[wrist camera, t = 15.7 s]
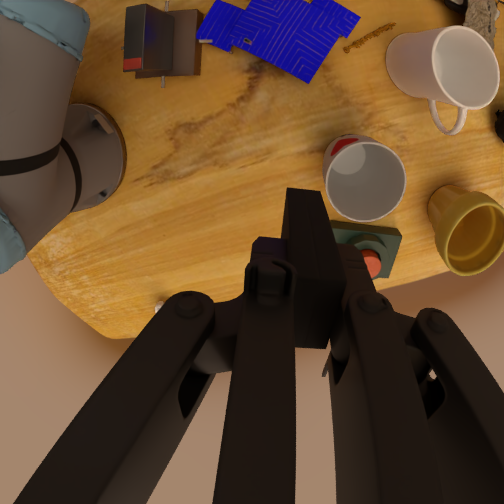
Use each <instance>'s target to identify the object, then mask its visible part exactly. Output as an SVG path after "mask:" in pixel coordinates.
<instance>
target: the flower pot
mask: <svg viewBox="0 0 504 504" xmlns="http://www.w3.org/2000/svg"><path fill="white" fill-rule="evenodd" d="M428 216H429V219H430V222H431V224H432V227H433V229H434V232H435V244H436V247H437V250H438V252H439V254H440V256H441V257H442V259H443V261H444V262H445V264H446V265H447V267H448V268H449V269H450V270H451V271H452V272H454V273H456V274H458V275H461V276H471V275H475V274H478V273H480V272H482V271H484V270H485V269H487V268H488V267H489V266H491V265H492V264H493V263H494V262H495V261H496V260H497V259H498V257H499V256H500V254H501V253H502V251H503V249H504V209H503V208H502V206H501V205H499V204H498V203H497V202H496V201H495V200H493V199H492V198H491V197H489V196H488V195H486V194H484V193H482V192H476V191H473V192H470V191H467V190H465V189H462V188H460V187H457V186H454V185H446V186H443V187H441V188H439V189H438V190H436V191H435V192H434V194H433V195H432V196H431V198H430V200H429V203H428Z"/></svg>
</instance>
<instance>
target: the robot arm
mask: <svg viewBox="0 0 504 504" xmlns="http://www.w3.org/2000/svg"><path fill="white" fill-rule="evenodd" d="M89 28H90V18H89V15H88V14H87V12H86V11H85V10H84V9H83V8H81V7H79V6H77V5H75V4H73V3H70V2H67V1H64V0H0V274H2V273H4V272H6V271H8V270H9V269H10V268H11V267H12V266H13V265H14V264H16V263H17V262H18V261H20V260H23V259H24V257H25V256H26V254H27V253H28V252H29V251H30V250H31V249H32V248H33V247H34V246H35V245H36V244H37V243H38V242H39V241H40V240H41V239H42V238H43V237H44V236H45V235H46V234H47V233H48V232H49V231H51V230H52V229H53V228H54V227H55V226H56V225H57V224H58V223H59V222H60V221H61V220H63V219H64V218H65V217H66V216H67V215H68V214H69V213H72V212H76V211H80V210H84V209H88V208H91V207H94V206H96V205H98V204H100V203H102V202H104V201H105V200H106V199H107V198H109V197H110V196H111V195H112V194H113V193H114V192H115V191H116V190H117V188H118V187H119V185H120V183H121V181H122V179H123V176H124V173H125V169H126V160H127V157H126V147H125V142H124V138H123V136H122V133H121V131H120V129H119V127H118V125H117V124H116V122H115V121H114V119H113V118H112V117H111V116H110V115H109V114H108V113H107V112H106V111H104V110H103V109H101V108H100V107H98V106H95V105H93V104H89V103H74V104H70V105H68V104H69V99H70V96H71V92H72V88H73V84H74V81H75V77H76V74H77V70H78V67H79V64H80V62H82V60H83V56H82V53H83V49H84V45H85V41H86V38H87V35H88V31H89ZM329 338H330V343H331V351H330V353H329V356H328V359H327V361H326V364H325V367H324V369H323V373H322V377H325V376H326V374H327V371H328V372H329V383H330V395H331V406H332V420H333V434H334V451H335V471H336V501H337V504H504V393H503V391H502V390H501V388H500V387H499V385H498V383H497V382H496V380H495V379H494V378H493V376H492V374H491V373H490V371H489V370H488V368H487V367H486V366H485V364H484V362H483V361H482V360H481V358H480V357H479V356H478V354H477V352H476V351H475V350H474V348H473V347H472V345H471V344H470V343H469V341H468V340H467V339H466V337H465V336H464V335H463V333H462V332H461V330H460V329H459V328H458V326H457V325H456V324H455V323H454V322H453V320H452V319H451V318H450V317H449V316H448V315H447V314H446V313H444V312H442V311H441V310H438V309H435V308H424V309H422V310H420V312H419V313H418V315H417V317H416V318H413V317H410V316H406V315H403V314H400V313H397V312H395V311H394V310H393V308H392V305H391V303H390V302H389V301H388V299H387V298H386V297H384V296H383V295H382V294H380V293H377V292H376V289H375V286H374V284H373V281H372V278H371V275H370V273H369V270H368V267H367V265H366V263H365V260H364V257H363V254H362V252H361V251H360V250H359V249H358V248H357V247H356V246H354V245H352V244H342V243H336V240H335V236H334V233H333V230H332V227H331V223H330V220H329V217H328V214H327V211H326V207H325V204H324V201H323V198H322V195H321V192H320V191H315V190H306V189H297V188H287V191H286V199H285V208H284V216H283V225H282V233H281V238H271V237H260V236H259V237H258V238H257V239H256V240H255V241H254V242H253V244H252V251H251V258H250V263H248V264H247V266H246V268H245V278H244V292H243V293H242V294H241V295H240V296H238V297H237V298H235V299H232V300H230V301H225V302H218V303H214V302H213V300H212V299H211V298H210V297H209V296H208V295H205V294H203V293H201V292H196V291H184V292H180V293H177V294H175V295H173V296H171V297H170V298H169V299H168V300H167V301H166V302H165V303H164V304H163V305H162V307H161V308H160V309H159V310H158V311H157V313H156V314H155V315H154V316H153V318H152V319H151V320H150V321H149V323H148V324H147V325H146V326H145V328H144V329H143V330H142V331H141V332H140V334H139V335H138V336H137V337H136V339H135V340H134V341H133V342H132V344H131V345H130V346H129V348H128V349H127V350H126V351H125V353H124V354H123V355H122V356H121V358H120V359H119V360H118V362H117V363H116V364H115V365H114V367H113V368H112V369H111V370H110V372H109V373H108V374H107V376H106V377H105V378H104V379H103V381H102V382H101V384H100V385H99V386H98V387H97V388H96V390H95V391H94V392H93V394H92V395H91V396H90V398H89V399H88V400H87V402H86V403H85V404H84V406H83V407H82V408H81V410H80V411H79V412H78V414H77V415H76V416H75V418H74V419H73V420H72V422H71V423H70V424H69V426H68V427H67V428H66V430H65V431H64V432H63V434H62V435H61V436H60V438H59V439H58V441H57V442H56V443H55V445H54V446H53V448H52V449H51V450H50V452H49V453H48V454H47V456H46V457H45V459H44V460H43V461H42V463H41V464H40V466H39V467H38V469H37V470H36V471H35V473H34V474H33V475H32V477H31V478H30V480H29V481H28V483H27V484H26V486H25V487H24V489H23V490H22V491H21V493H20V494H19V496H18V497H17V499H16V500H15V502H14V503H13V504H146V503H147V501H148V499H149V497H150V496H151V494H152V492H153V490H154V488H155V487H156V485H157V483H158V481H159V479H160V478H161V476H162V474H163V472H164V470H165V469H166V467H167V465H168V463H169V461H170V460H171V458H172V456H173V454H174V452H175V450H176V449H177V447H178V445H179V443H180V441H181V439H182V437H183V435H184V434H185V432H186V430H187V428H188V426H189V424H190V423H191V421H192V419H193V417H194V415H195V413H196V411H197V409H198V407H199V406H200V404H201V402H202V400H203V398H204V396H205V394H206V392H207V391H208V389H209V387H210V385H211V383H212V381H213V379H214V377H215V375H216V373H221V372H227V371H232V375H231V381H230V388H229V395H228V402H227V409H226V415H225V422H224V429H223V435H222V442H221V449H220V455H219V462H218V469H217V475H216V483H215V489H214V496H213V502H212V504H295V480H296V378H295V377H296V376H295V347H298V348H315V349H326V347H327V344H328V341H329ZM432 369H433V371H434V372H435V374H436V376H437V377H436V378H435V379H432V378H431V377H430V375H429V373H430V372H431V370H432Z"/></svg>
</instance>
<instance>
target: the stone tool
mask: <svg viewBox="0 0 504 504" xmlns="http://www.w3.org/2000/svg"><path fill="white" fill-rule="evenodd" d="M497 13H498V12H497V7H496V4H495V0H468V10H467V12H466V15H465V16H466V18H465V22H464V23H463V26H464V27H468V28H470V29H472V30H474V31H476V32H477V33H478V34H480V35H481V36H482V37H483V38H484V39H485V40H486V41H487V42H488V44H489V45H490V47H491V48H492V50H493V49H494V42H493V38H494V36H495V34H496V28H495V19H494V18H495V16H496V14H497ZM493 52H494V50H493Z"/></svg>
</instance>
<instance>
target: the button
mask: <svg viewBox="0 0 504 504" xmlns="http://www.w3.org/2000/svg"><path fill="white" fill-rule="evenodd" d="M361 252H362V254H363V257H364V260H365V263H366V265H367V267H368V270H369V273H370V275H371V278H373V277H375V276H376V275H377V274H378V273H379V272H380V270H381V262H380V260H379V258H378V255H377V254H376V253H375V252H374V251H373V250H369V249H365V250H361Z"/></svg>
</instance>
